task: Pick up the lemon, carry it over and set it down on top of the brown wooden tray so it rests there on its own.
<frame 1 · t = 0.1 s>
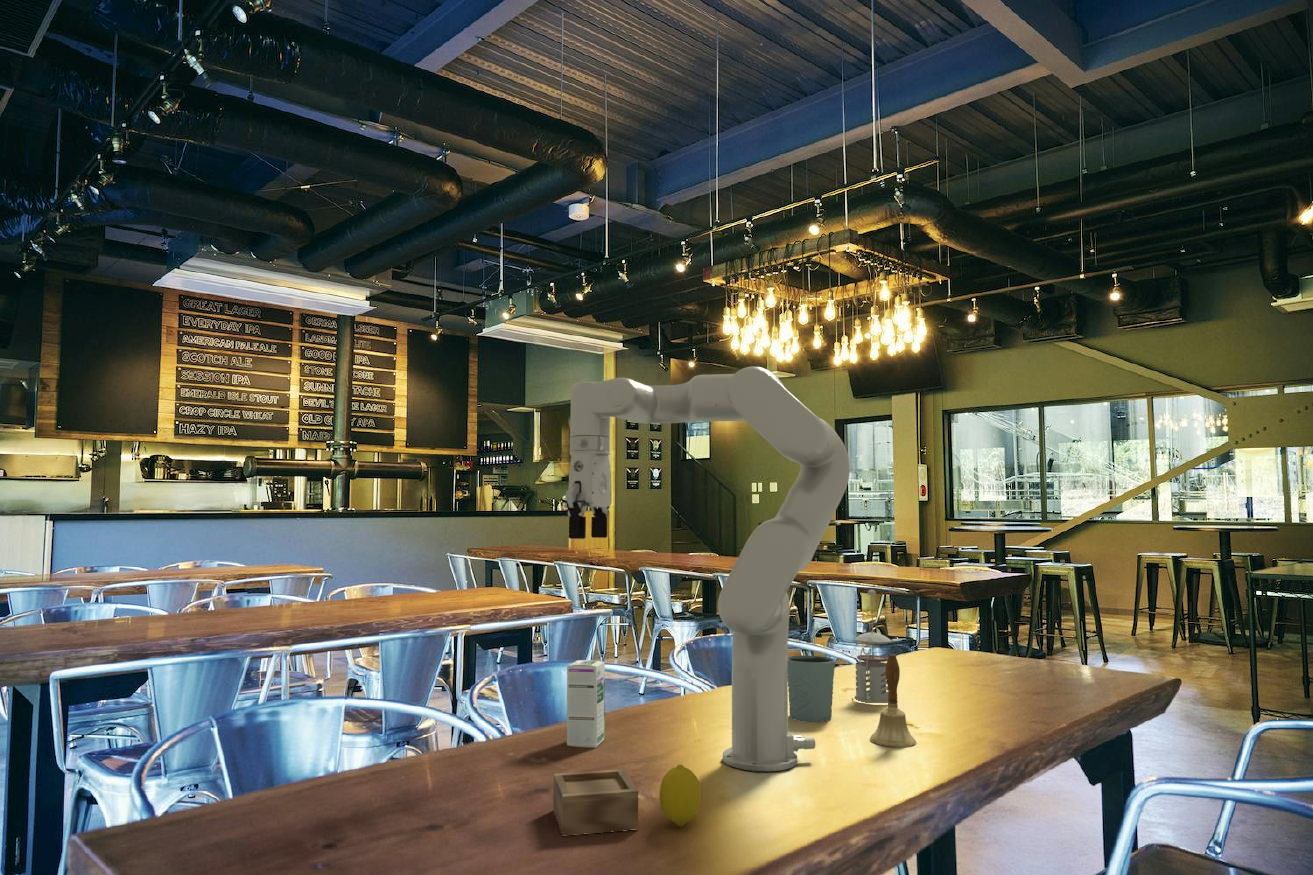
hand: (588, 538, 157), 37 cm above the table, tool pointing down, fingers open, 9 cm apart
brown wooden tray: (594, 819, 114), on the table
hand bell: (893, 742, 155), on the table
lemon: (679, 827, 112), on the table
french press: (872, 702, 189), on the table
grey teal cup: (811, 718, 174), on the table
syrup box: (585, 744, 153), on the table
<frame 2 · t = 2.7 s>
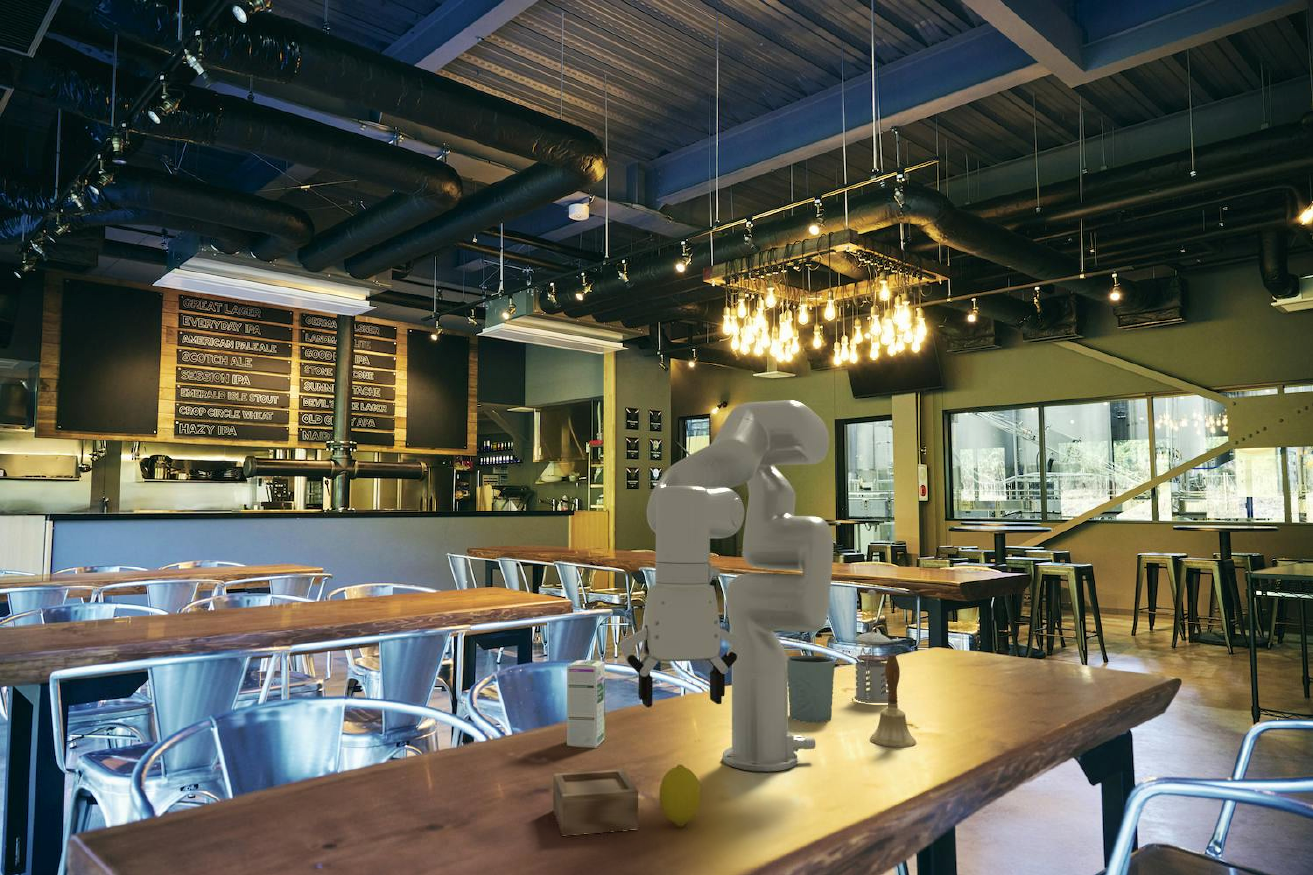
hand: (681, 703, 113), 16 cm above the table, tool pointing down, fingers open, 9 cm apart
nothing on the table moved.
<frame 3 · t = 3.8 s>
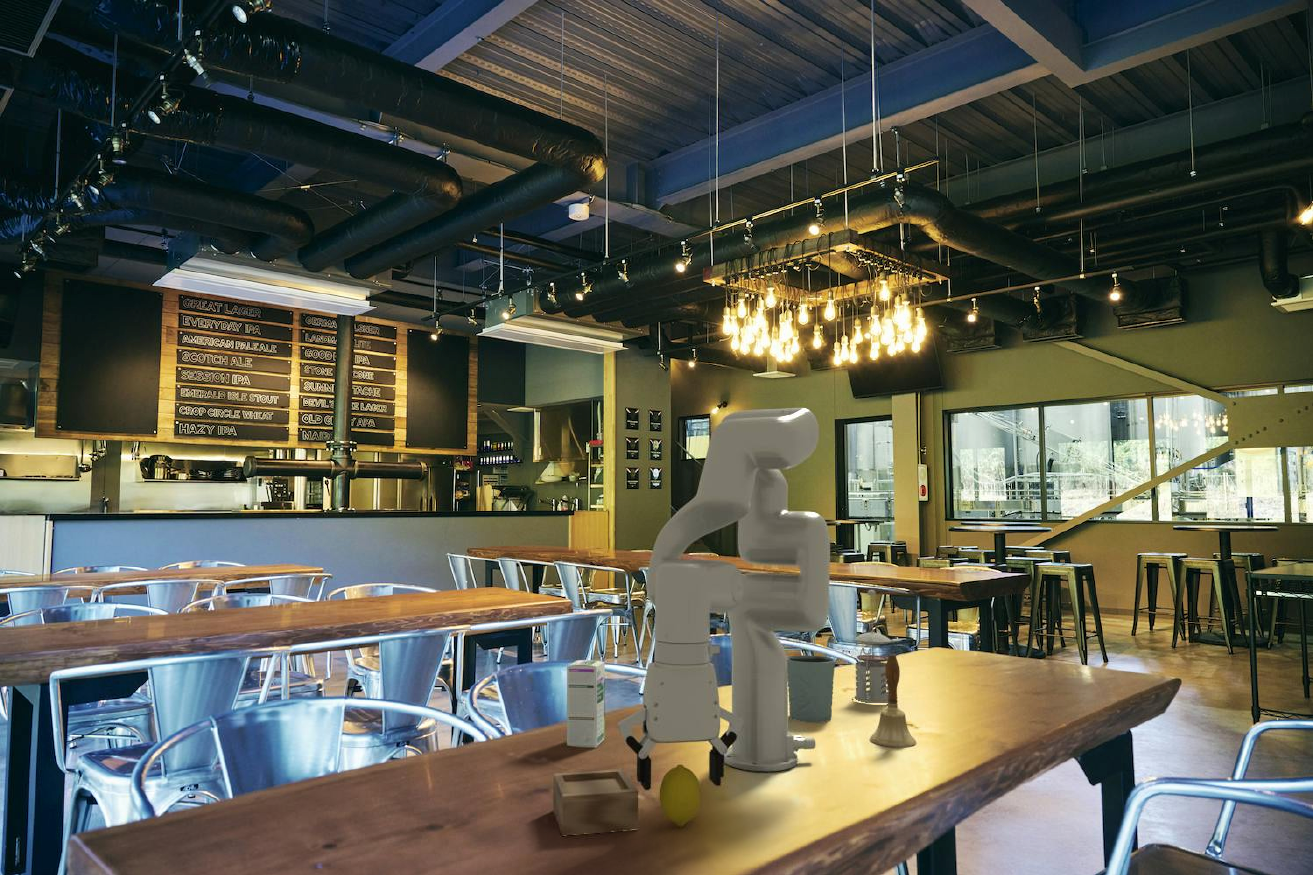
hand: (680, 784, 112), 6 cm above the table, tool pointing down, fingers open, 9 cm apart
nothing on the table moved.
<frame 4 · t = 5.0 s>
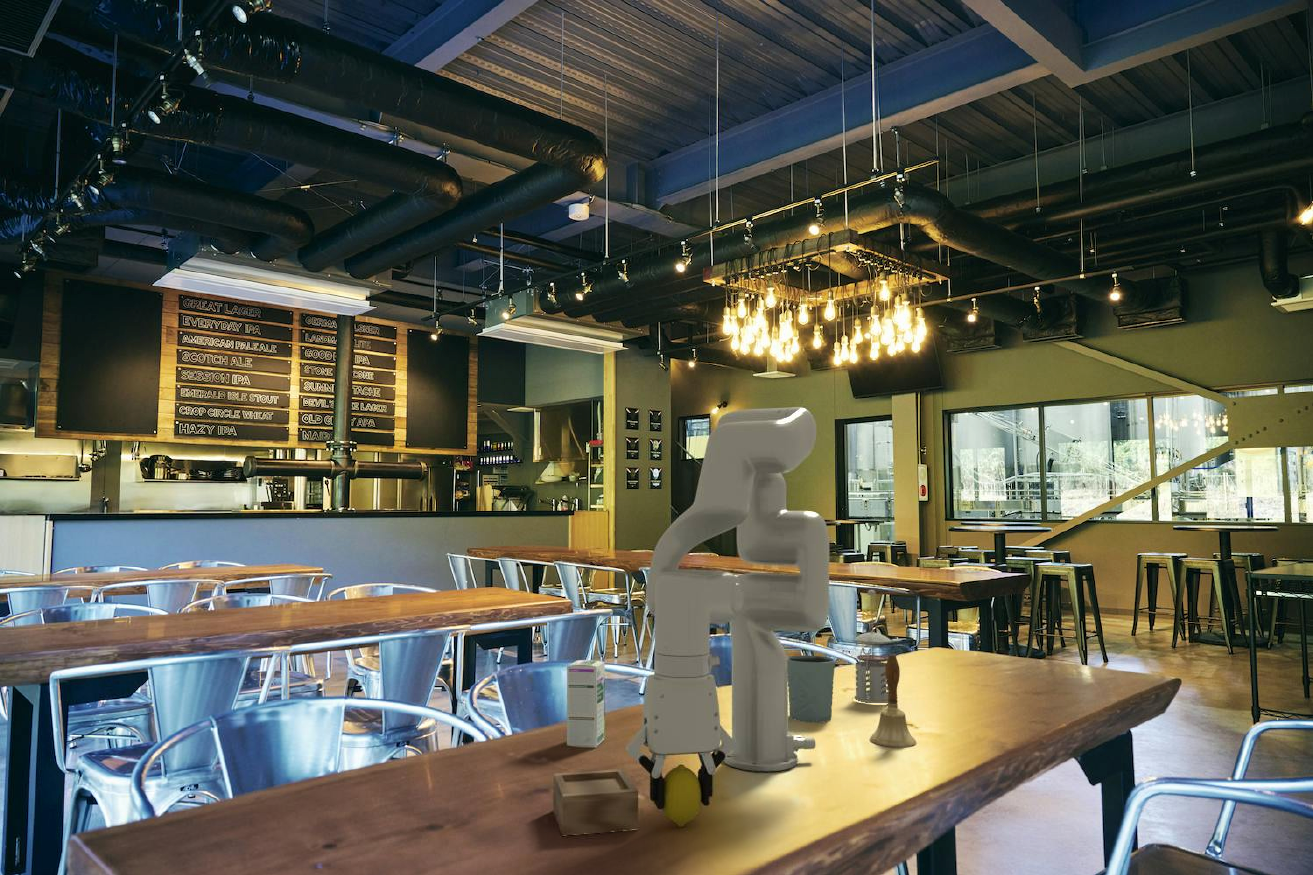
hand: (681, 802, 112), 3 cm above the table, tool pointing down, fingers closed on lemon, 5 cm apart
lemon: (680, 827, 111), on the table, touching gripper
everything else where it was.
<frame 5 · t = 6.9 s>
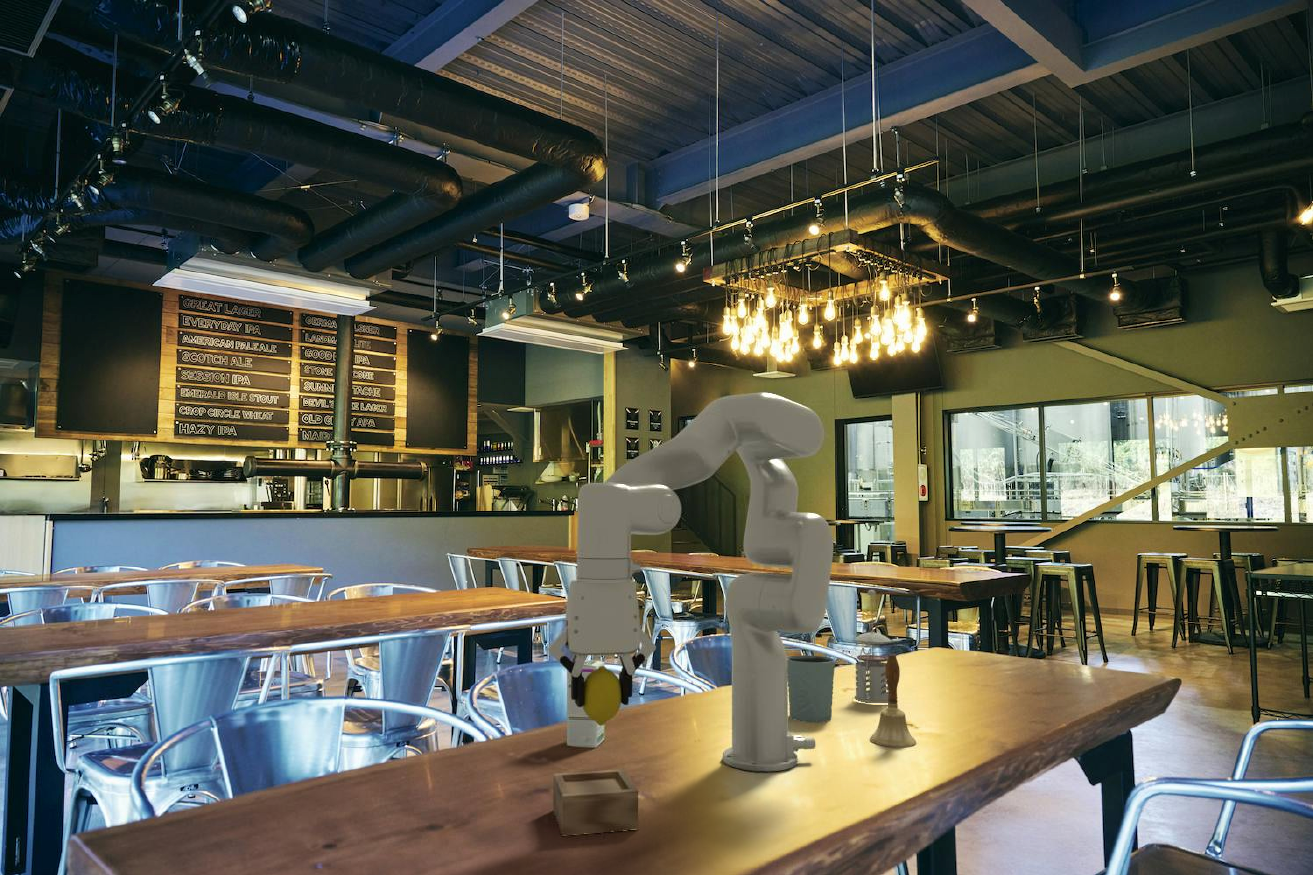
hand: (601, 702, 115), 16 cm above the table, tool pointing down, fingers closed on lemon, 5 cm apart
lemon: (600, 727, 115), point 12 cm above the table, touching gripper
everything else where it was.
when the fingers open (8 cm above the table, at t = 8.9 s): lemon stays where it is, resting on brown wooden tray.
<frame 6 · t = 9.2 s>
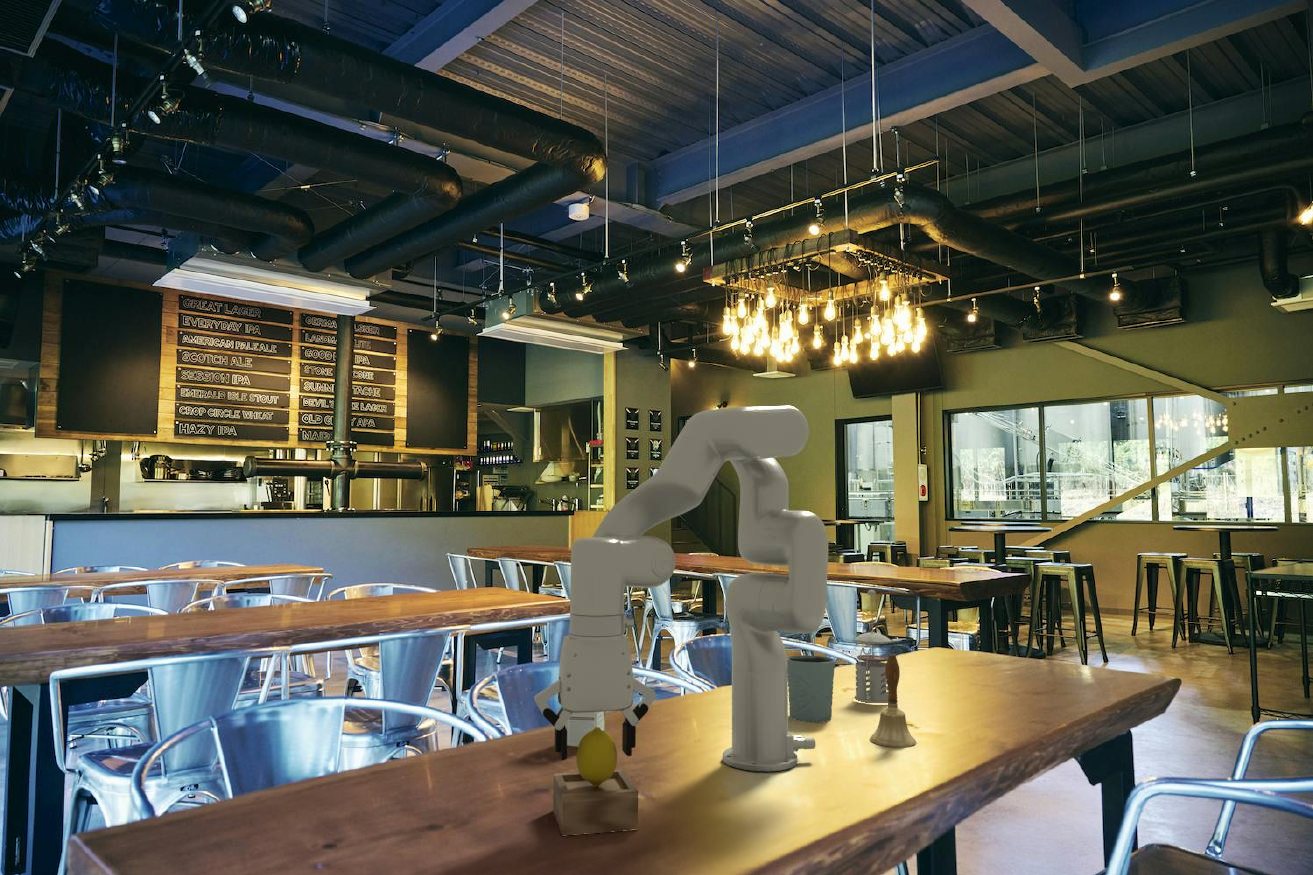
hand: (595, 754, 114), 9 cm above the table, tool pointing down, fingers open, 8 cm apart
lemon: (596, 788, 114), point 4 cm above the table, touching brown wooden tray
everything else where it was.
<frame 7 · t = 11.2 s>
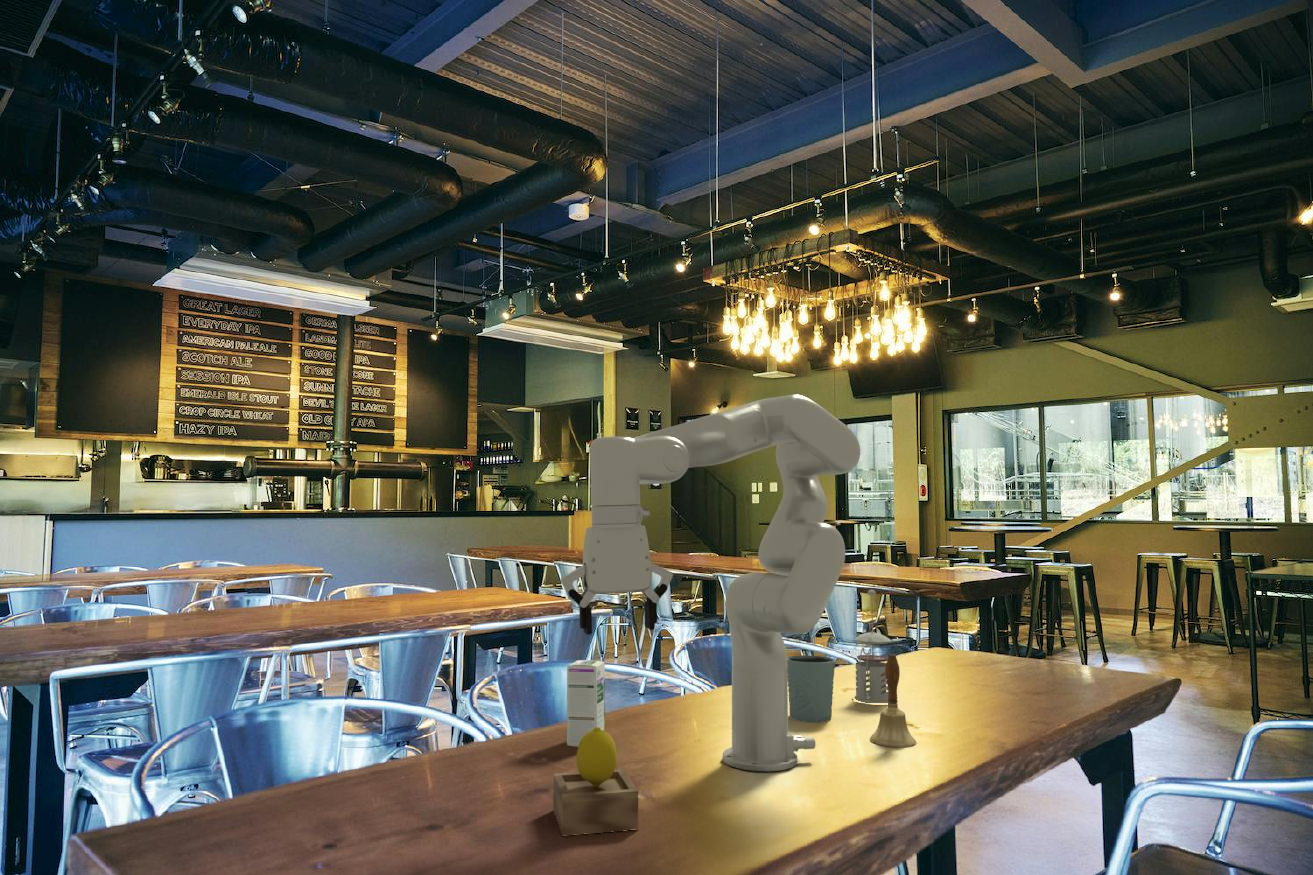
hand: (618, 630, 126), 24 cm above the table, tool pointing down, fingers open, 9 cm apart
nothing on the table moved.
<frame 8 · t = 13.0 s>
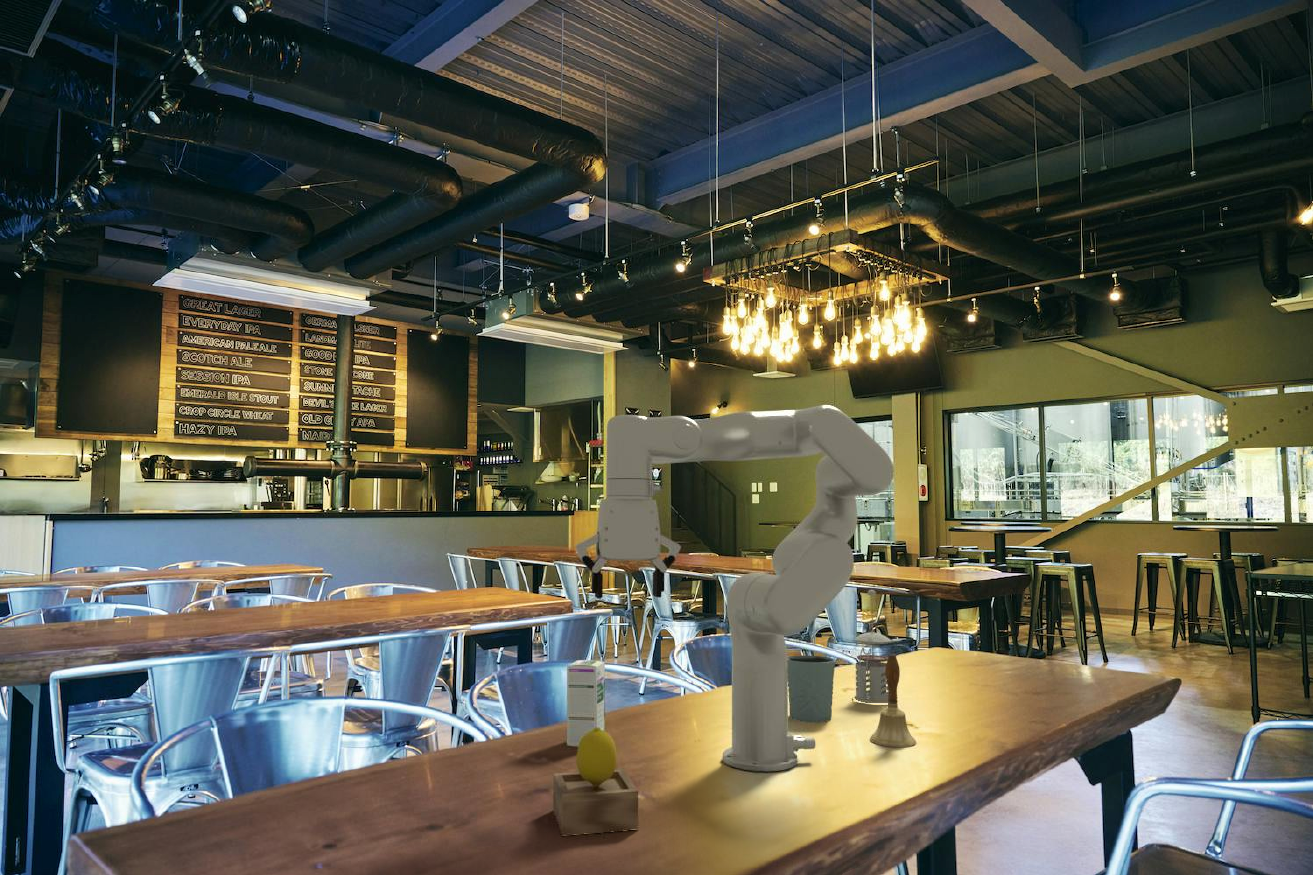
hand: (628, 597, 135), 28 cm above the table, tool pointing down, fingers open, 9 cm apart
nothing on the table moved.
at the end: lemon inside the target area on the brown wooden tray (0.4 cm from its centre), point 4.0 cm above the brown wooden tray's base; the gripper is holding nothing; lemon touching brown wooden tray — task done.
